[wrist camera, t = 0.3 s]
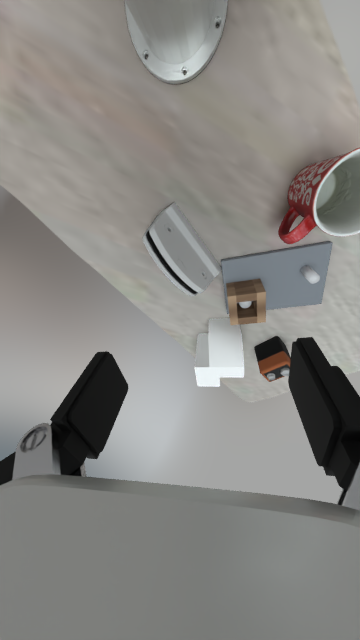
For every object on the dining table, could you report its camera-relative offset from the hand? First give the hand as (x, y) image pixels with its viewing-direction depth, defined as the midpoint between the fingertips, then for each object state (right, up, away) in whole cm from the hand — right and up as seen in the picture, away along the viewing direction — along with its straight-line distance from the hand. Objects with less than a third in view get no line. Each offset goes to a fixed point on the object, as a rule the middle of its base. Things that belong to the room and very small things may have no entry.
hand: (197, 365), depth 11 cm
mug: (+20, +23, +24) cm, 39 cm away
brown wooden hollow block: (+13, +8, +35) cm, 38 cm away
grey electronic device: (0, +17, +32) cm, 36 cm away
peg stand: (+19, +11, +33) cm, 40 cm away
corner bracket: (+9, -2, +44) cm, 45 cm away
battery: (+23, -4, +44) cm, 49 cm away
